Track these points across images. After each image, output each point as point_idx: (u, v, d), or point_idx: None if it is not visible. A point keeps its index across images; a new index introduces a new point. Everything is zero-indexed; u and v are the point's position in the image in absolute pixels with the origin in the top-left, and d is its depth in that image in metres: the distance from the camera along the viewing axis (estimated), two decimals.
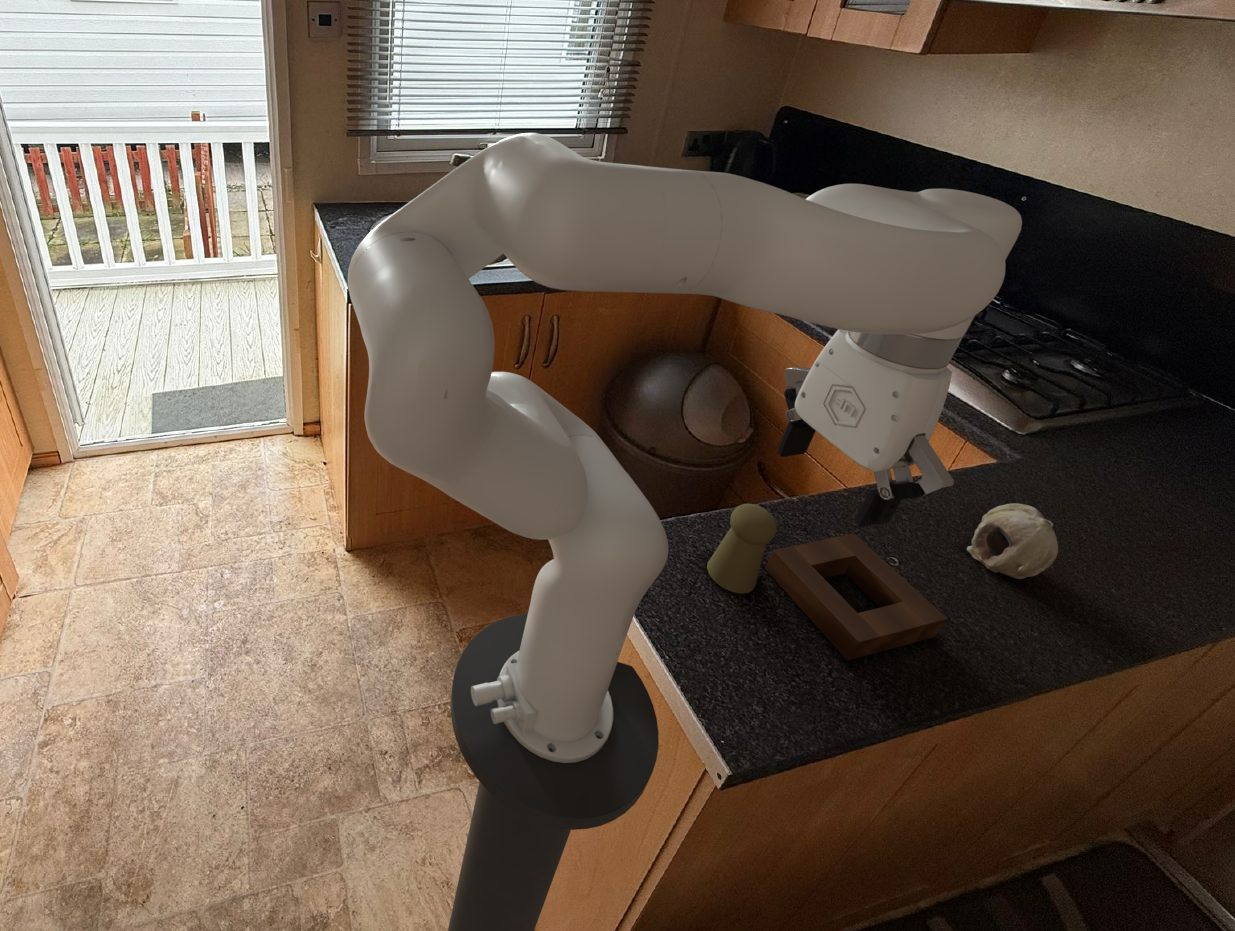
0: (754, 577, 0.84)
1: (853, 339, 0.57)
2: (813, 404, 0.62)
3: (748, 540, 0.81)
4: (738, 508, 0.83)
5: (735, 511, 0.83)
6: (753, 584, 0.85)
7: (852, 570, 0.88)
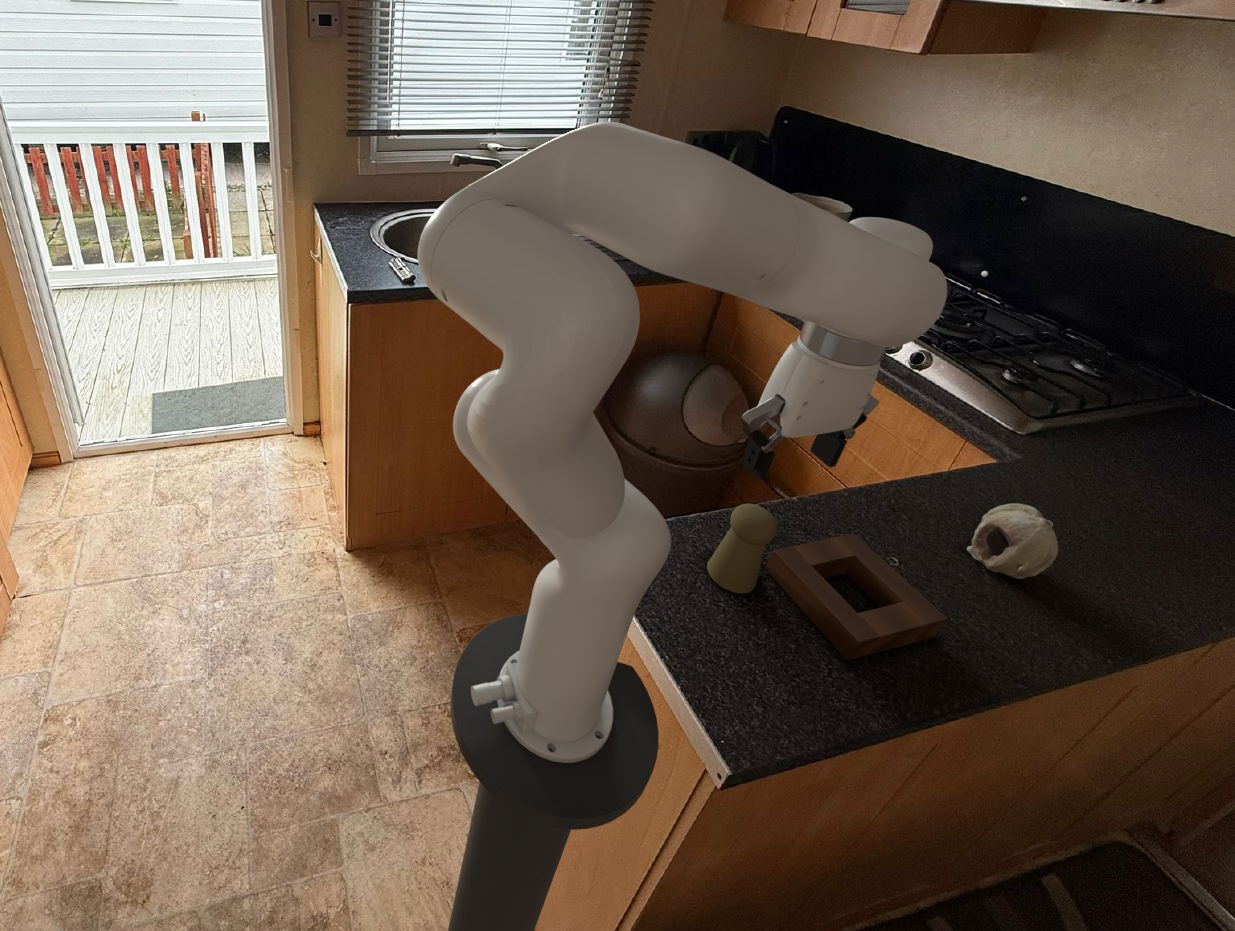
0: (754, 577, 0.84)
1: None
2: None
3: (748, 540, 0.81)
4: (738, 508, 0.83)
5: (735, 511, 0.83)
6: (753, 584, 0.85)
7: (852, 570, 0.88)
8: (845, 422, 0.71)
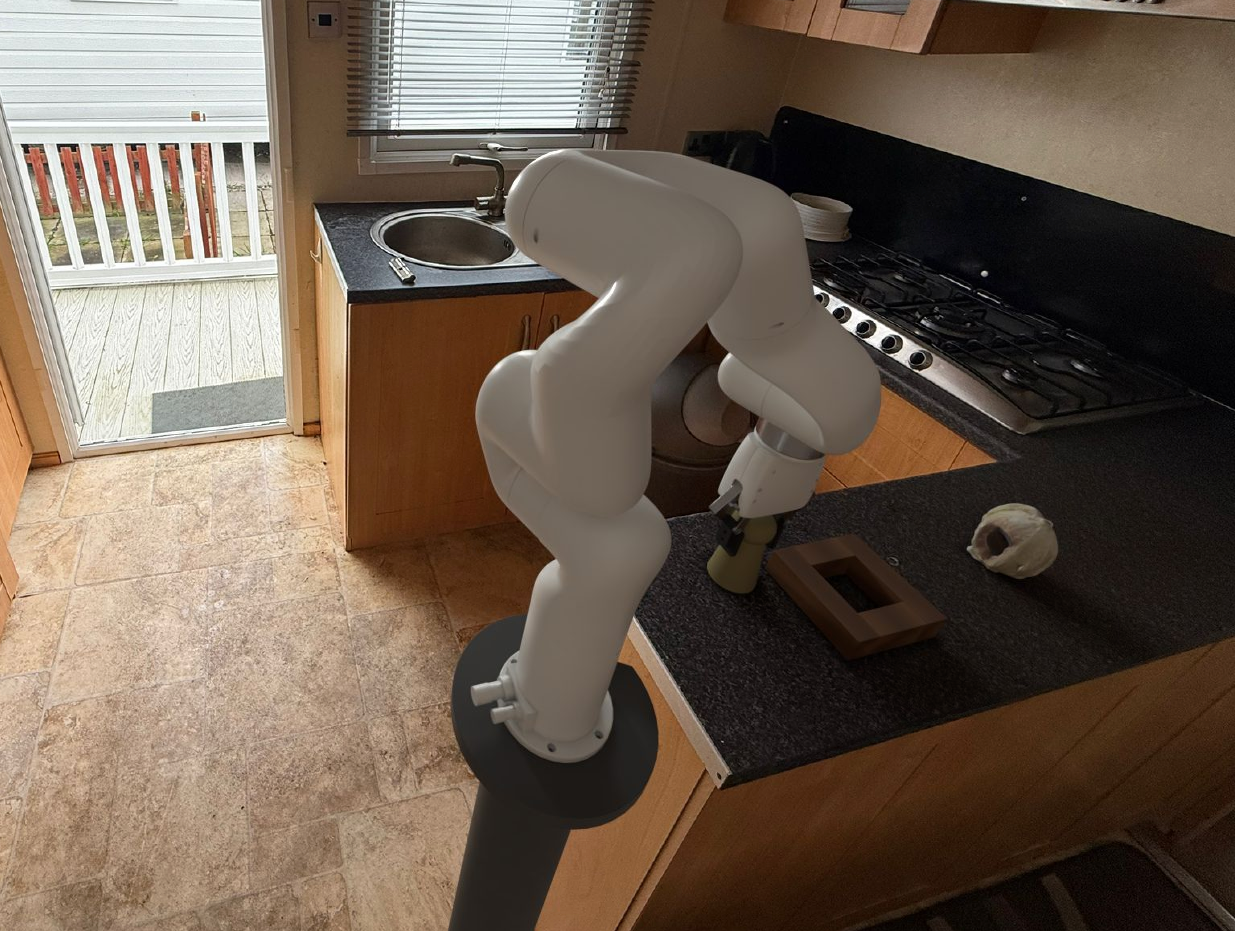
0: (754, 577, 0.84)
1: None
2: None
3: (748, 540, 0.81)
4: None
5: (735, 511, 0.83)
6: (753, 584, 0.85)
7: (852, 570, 0.88)
8: (797, 503, 0.79)
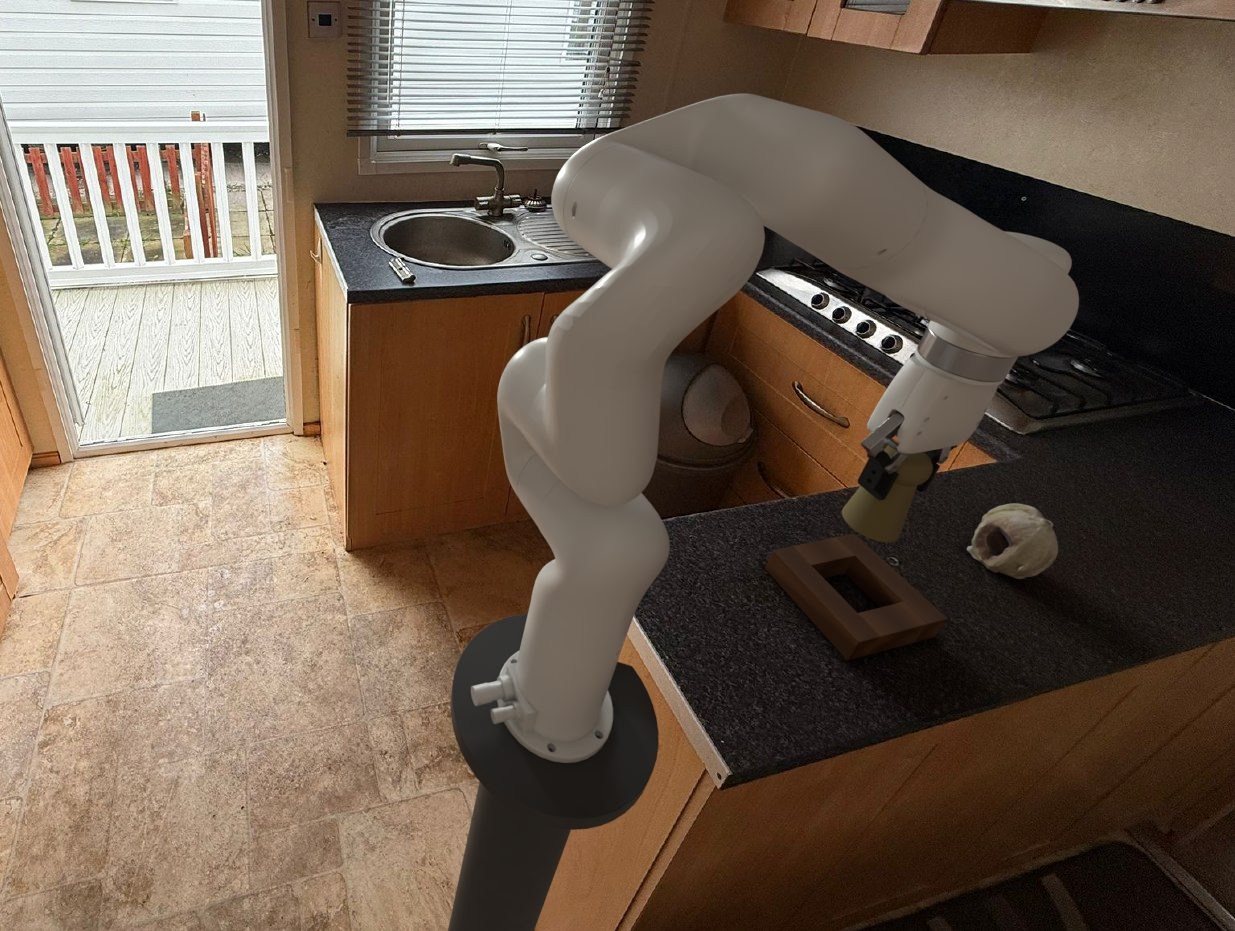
0: (902, 524, 0.76)
1: None
2: None
3: (901, 481, 0.73)
4: None
5: None
6: (900, 532, 0.76)
7: (852, 570, 0.88)
8: (960, 437, 0.71)
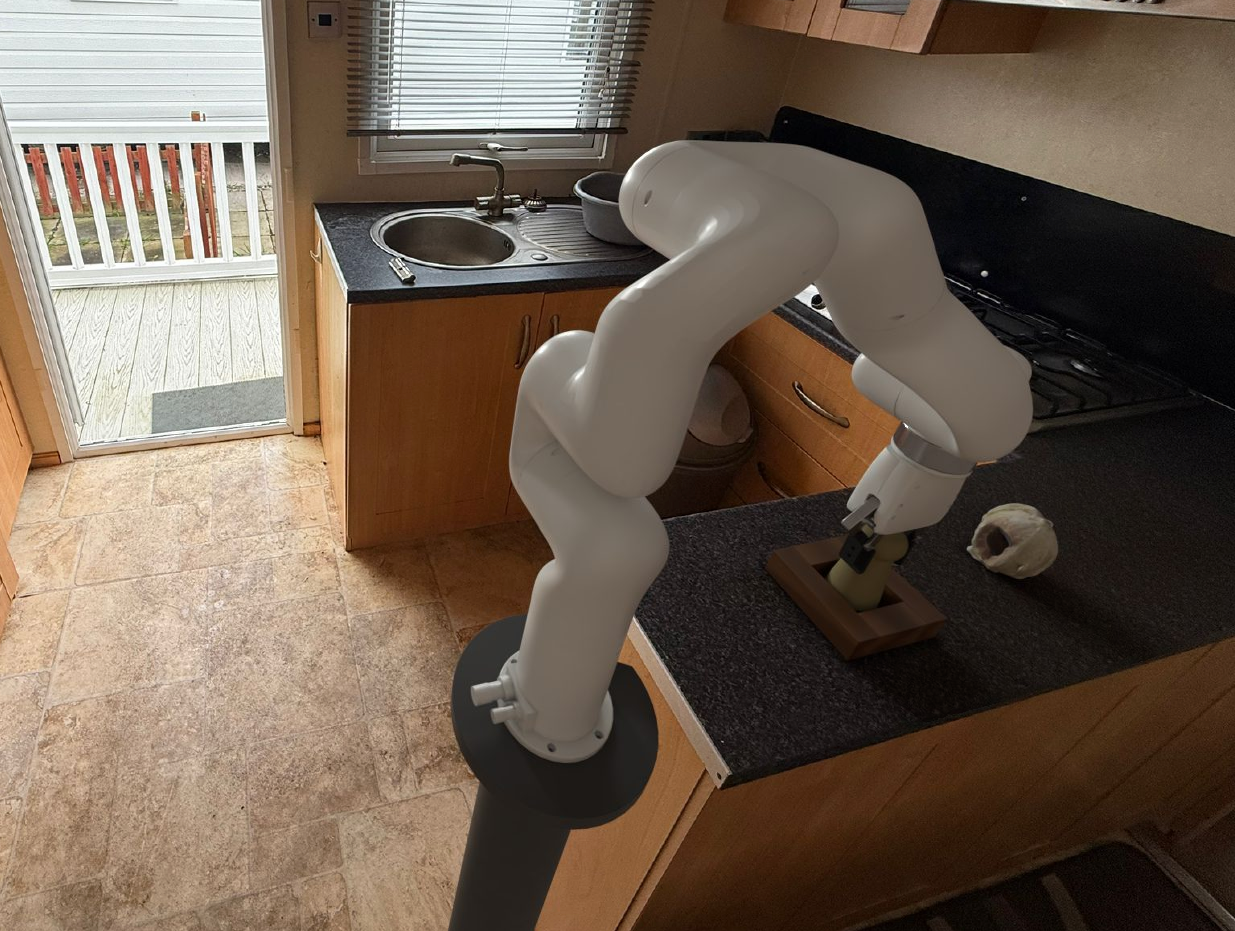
0: (880, 595, 0.81)
1: None
2: None
3: (879, 557, 0.78)
4: None
5: None
6: (878, 602, 0.81)
7: None
8: (933, 519, 0.76)
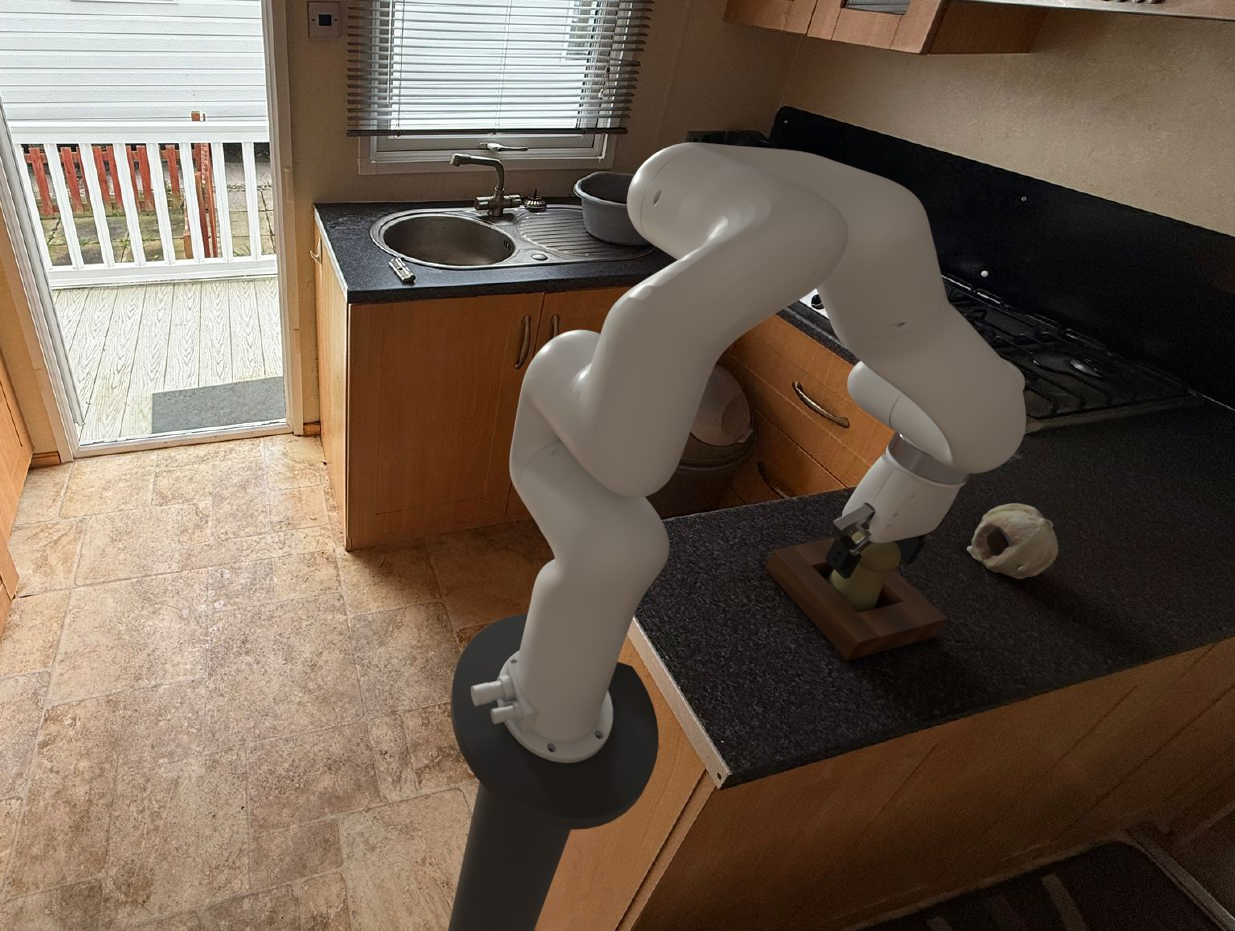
0: (873, 605, 0.82)
1: None
2: None
3: (872, 568, 0.79)
4: (858, 534, 0.81)
5: (855, 537, 0.81)
6: None
7: None
8: (927, 528, 0.76)
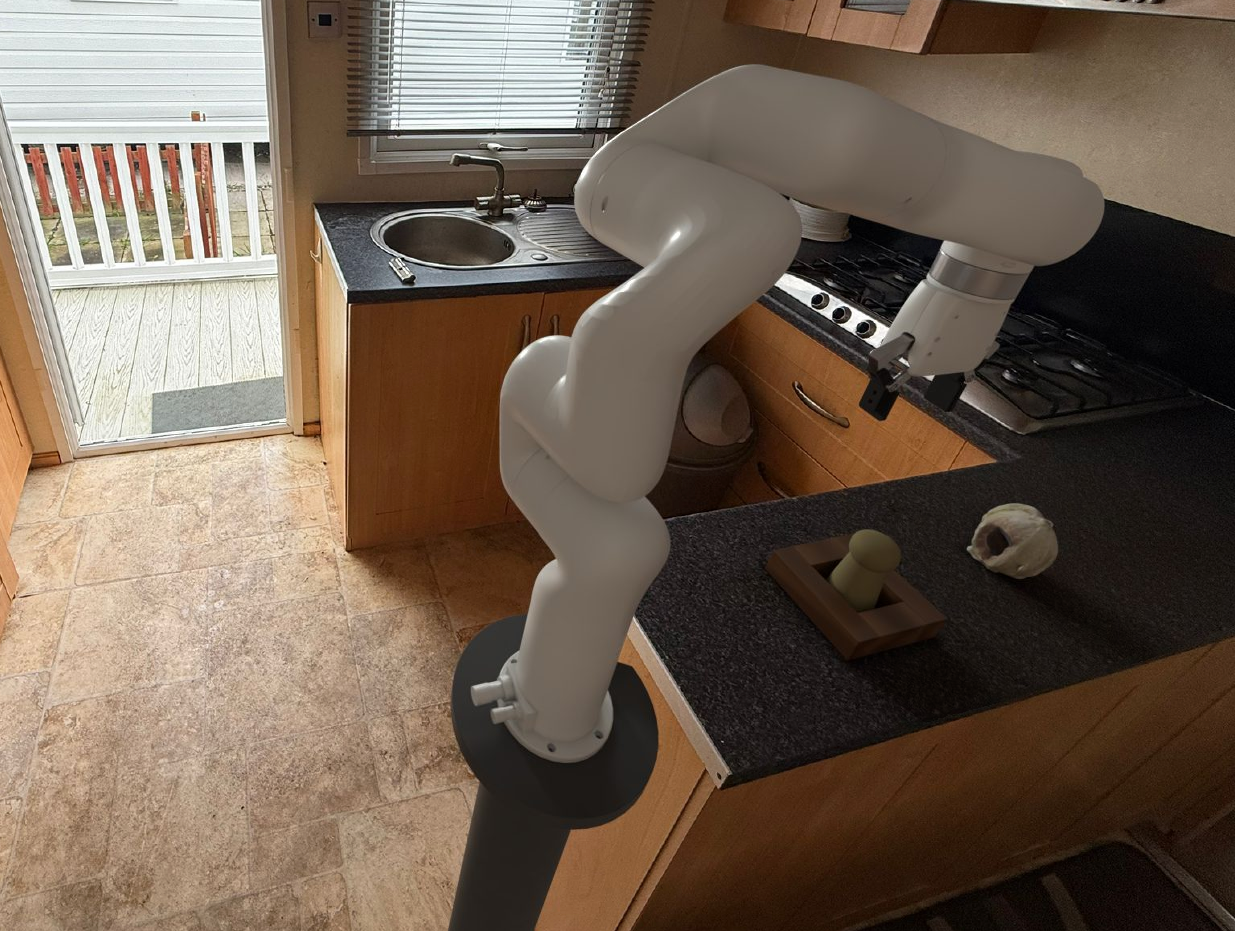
0: (873, 605, 0.82)
1: None
2: None
3: (872, 568, 0.79)
4: (858, 534, 0.81)
5: (855, 537, 0.81)
6: None
7: None
8: (970, 363, 0.72)
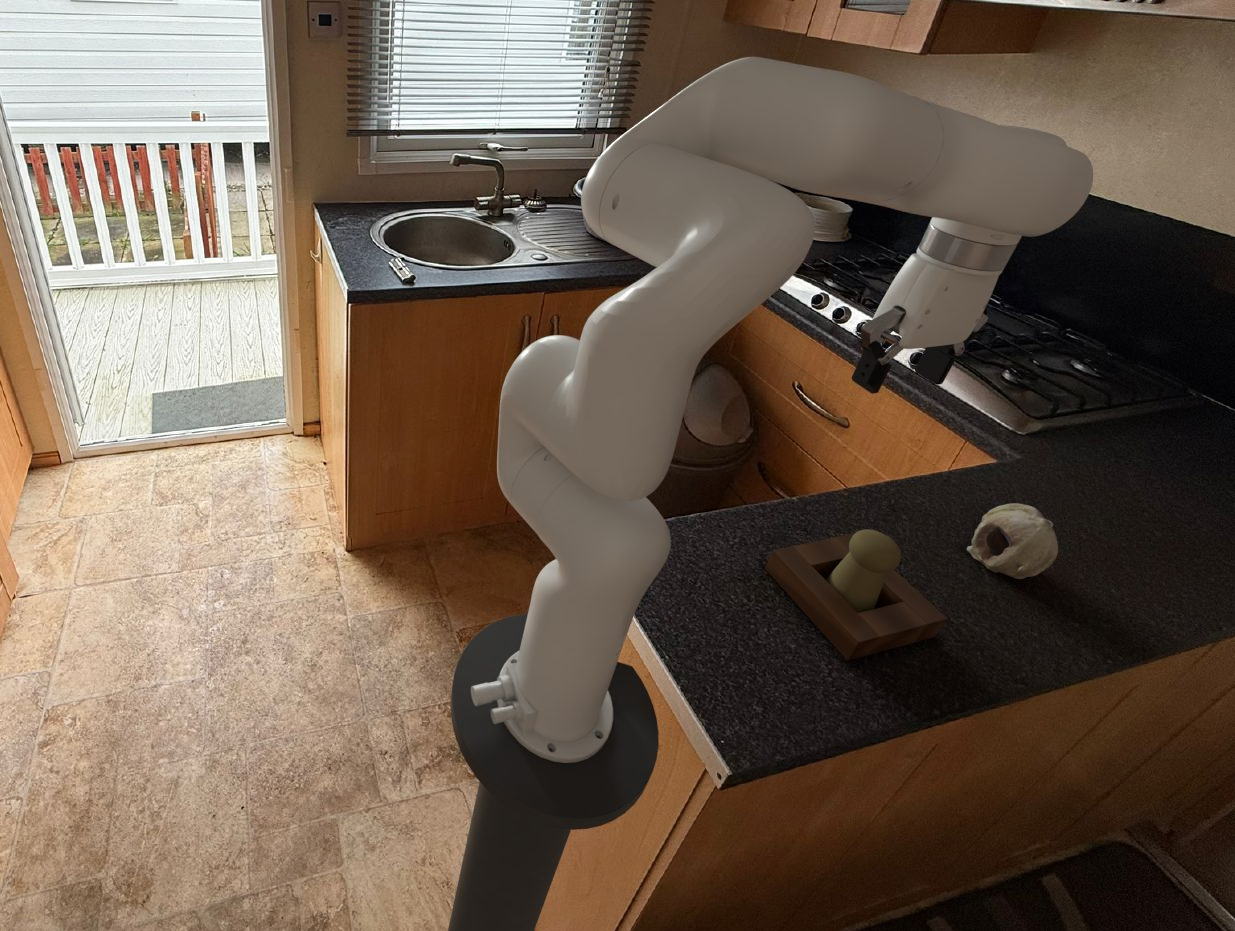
0: (873, 605, 0.82)
1: None
2: None
3: (872, 568, 0.79)
4: (858, 534, 0.81)
5: (855, 537, 0.81)
6: None
7: None
8: (960, 335, 0.73)
